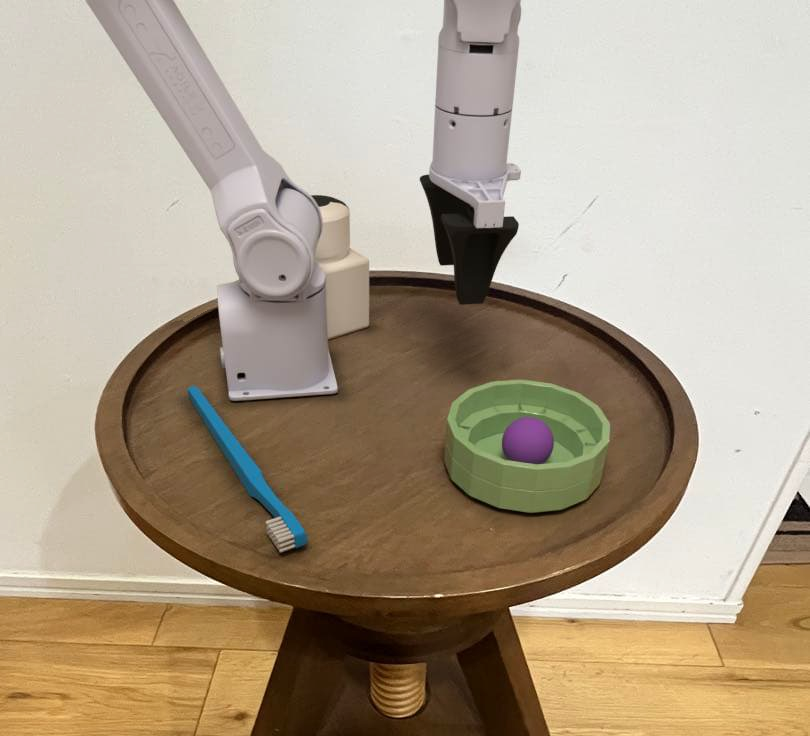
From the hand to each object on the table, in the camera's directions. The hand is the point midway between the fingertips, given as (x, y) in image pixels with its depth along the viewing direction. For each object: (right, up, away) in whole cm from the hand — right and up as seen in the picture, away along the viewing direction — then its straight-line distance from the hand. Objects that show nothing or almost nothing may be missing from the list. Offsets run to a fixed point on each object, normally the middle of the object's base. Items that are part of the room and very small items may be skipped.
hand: (460, 282), depth 71 cm
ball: (+5, -14, -6) cm, 16 cm away
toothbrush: (-17, -15, -5) cm, 23 cm away
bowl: (+5, -16, -4) cm, 17 cm away
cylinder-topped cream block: (-13, 0, +14) cm, 19 cm away
